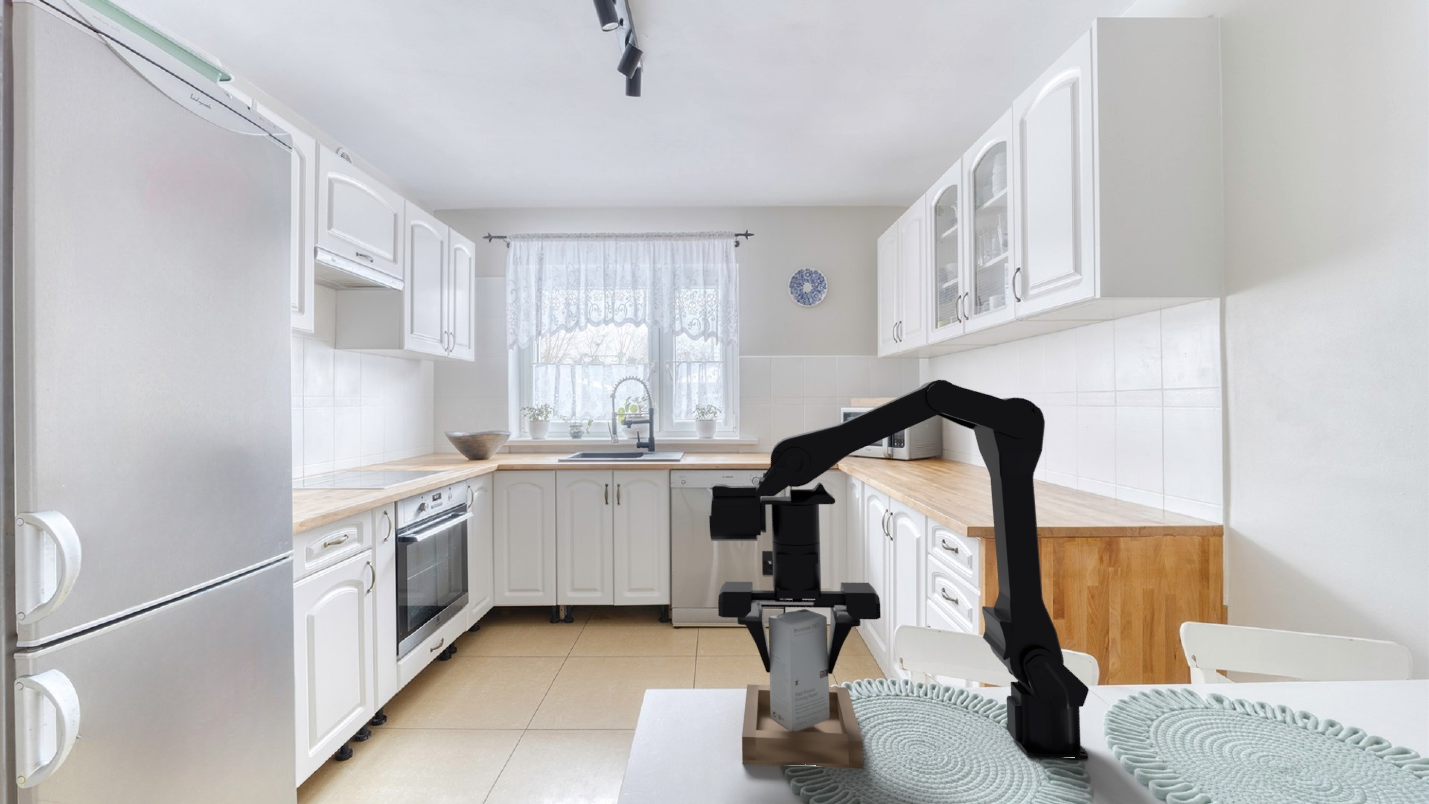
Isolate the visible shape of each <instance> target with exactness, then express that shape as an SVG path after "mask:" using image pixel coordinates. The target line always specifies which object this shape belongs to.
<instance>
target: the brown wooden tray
mask: <svg viewBox="0 0 1429 804" xmlns="http://www.w3.org/2000/svg"><path fill="white" fill-rule="evenodd" d="M745 693H746V694H745V703H744V711H743V712H744V713H743V723H742V724H743V725H742V732H741V733H742V734H741V750H742V752H741V760H742V762H741V763H742V765H757V766H780V767H781V766H783V767H785V766H784V765H805V764H806V765H816V766H822V767H821V768H826V769H827V768H828V769H830V768H831V769H855V770H856V769H857V770H864V754H863V753H864V751H863V750H864V748H863V747H864V746H863V745H864V744H863V743H864V742H863V737H862V734H861V731H860V727H859V724H858V720H857V717H856V712H855V709H854V705H853V702H852V697H851V695H850V691H849V687H847V686H845V687H844V686H842V687H840V686H829V713H830V717H829V718H828V719H827V720H826V721H823V722H820V723H818V724H815V725H812V726H810V727H807V728H804V729H801V730H798V731H795V732H791V731H789V730H787V729H785V728H784V727H782V726H781V725H779V724H778V723H776V722H775V721H774V720H773V719H771V715H770V684H747V685H746V692H745Z"/></svg>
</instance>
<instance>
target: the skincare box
mask: <svg viewBox="0 0 1429 804" xmlns="http://www.w3.org/2000/svg"><path fill="white" fill-rule="evenodd" d="M828 645H829V644H828V618H827V616H826V615H825V614H821V613H819V612H815V611H812V610H809V609H807V608H806V609H805V608H801V609H798V610H794V611H786V612H783V613H782V612H781V613H780V614H776V615H771V616H769V617H768V648H769V660H770V673H769V685H770V715H771V719H773V720H774V721H775V722H776V723H778V724H779V725H781V726H782V727H784V728H785V729H787V730H789V731H791V732H795V731H798V730H801V729H804V728H807V727H810V726H812V725H815V724H818V723H820V722H823V721H826V720H827V719H828V718H829V717H830V713H829V687H830V685H829V683H830V682H829V673H828Z"/></svg>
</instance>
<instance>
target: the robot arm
mask: <svg viewBox="0 0 1429 804" xmlns="http://www.w3.org/2000/svg"><path fill="white" fill-rule="evenodd" d="M936 416H938V417H941V418H943V419H946V420H947V421H950V422H952V423H954V424H957V425H959V426H961V427H964V428H967V429H970V430H973V432H974V436H975V440H976V443H977V447H978V451H979V453H980V455H981V457H982V460H983V463H984V464H985V467H986V468H987V471H988V473H989V478H990V480H989V481H990V490H991V503H992V505H991V506H992V516H993V517H992V518H993V519H992V520H993V530H994V543H995V556H996V559H995V560H996V571H997V583H998V584H997V585H998V595H997V598H996V600H995V603H994V606H993V607H991V606H985V605H983V606H982V607H981V609H982V611H981V612H982V616H983V619H984V624H985V625H984V632H983V635H982V638H983V640H984V641H985V642H986V643H987V644H988V645H989V647H990V650H991V651H992V653H993V654H994V655H995V657H996V658H997V659H998V660H999V661H1000V662H1001V663H1002V664H1003V666H1005V667H1006V669H1007V671H1008V673H1009V674H1010V675H1012V676H1013V678H1015V679H1016V681H1011V682H1010V695H1007V696H1006V722H1007V723H1006V727H1005V728H1006V730H1007V732H1008V733H1009V735H1010V736H1011V737H1012V738H1013V739H1014V741H1015V742H1016V743H1017V744H1018V746H1019V748H1021V750H1022V751H1023V752H1024V753H1025V755H1026V756H1027V757H1030V758H1046V759H1048V758H1049V759H1062V758H1061V757H1075V758H1076V759H1077V760H1088V759H1089V752H1087V751H1086V749H1085V748H1084V747H1083V746H1082V745H1081V744H1082V743H1081V742H1082V741H1081V717H1080V716H1081V715H1080V707H1084V705H1085V703H1086V700H1087V696H1088V694H1089V692H1090V690H1089V687H1088V686H1087V685H1086V684H1085V683H1084V682H1083V681H1082V680H1081V679H1080V678H1078V677H1077V676H1076V675H1075V674H1074V673H1073V672H1072V671H1071V670H1070V669H1069V668H1068V667H1067V666H1066V665H1064V664H1065V662H1064V661H1065V660H1064V655H1063V652H1062V651H1063V650H1062V647H1061V643H1060V640H1059V635H1058V633H1057V628H1056V627H1055V625H1054V623H1053V620H1052V618H1051V615H1050V613H1049V611H1048V609H1047V607H1046V604H1045V602H1044V597H1043V586H1042V573H1041V560H1040V547H1039V536H1038V535H1039V534H1038V522H1037V510H1036V507H1037V506H1036V497H1035V496H1036V495H1035V486H1034V485H1035V484H1034V474H1035V472H1036V469H1037V466H1038V463H1039V460H1040V458H1041V456H1042V452H1043V447H1044V445H1043V444H1044V436H1045V426H1046V425H1045V424H1046V421H1045V420H1046V419H1045V417H1044V413H1043V411H1042V409H1041V408H1040V407H1038V406H1037V405H1036V404H1035V403H1034V402H1032V401H1030V400H1028V399H1027V398H1024V397H1007V398H1006V397H1005V398H1000V397H997V396H994V395H991V394H988V393H985V392H981V391H977V390H973V389H969V388H966V387H962V386H959V385H956V384H954V383H952V382H950V381H948V380H946V379H936V380H932V381H927V382H925V383H924V384H921V386H919V387H918V388H916V389H914V390H912V391H910V392H908V393H905V394H903V395H901V396H899V397H897V398H894V399H892V400H890V401H887V402H886V403H883V404H881V405H878V406H877V407H874V408H872V409H869V410H867V411H865V412H863V413H861V414H858V415H856V416H854V417H852V418H849V419H847V420H845V421H842V422H840V423H838V424H836V425H832V426H828V427H824V428H819V429H815V430H812V431H811V430H810V431H807V432H803V433H800V434H795V435H791V436H787V437H785V438H782V439H781V440H780V441H778V442H777V443H776V444H775V445H774V447H773V448H772V451H771V454H770V465H769V467H768V469H767V470H766V471H765V473H764V475H763V476H760V477H759V479H758V482H757V484H756V485H728V484H723V483H722V484H714V485H713V487H712V488H711V490H712V491H711V493H712V497H711V504H710V505H711V506H710V513H709V516H708V517H709V523H708V524H709V535H710V540H711V541H712V542H757V541H758V536H762V533H764V534H765V533H767V505H768V506H769V505H771V543H772V545H771V546H772V550H762V551H761V555H762V556H761V566H762V567H761V570H762V571H761V572H762V573H761V574H762V577H764V578H767V577H768V578H769V577H771V578H772V589H773V590H755V589H753V588H754V584H753V583H754V582H753V581H725V582H724V583H723V584H722V585H721V587H720V590H719V594H718V601H717V603H718V605H717V606H718V609H717V610H718V611H717V613H718V615H717V616H718V617H721V618H725V619H726V618H734V619H735V618H737V619H736V623H737V624H738V625H739V626H740V625H742V626H745V627H746V628H747V630H748V632H749V633H750V636H751V638H752V640H753V641H754V643H755V646H756V648H757V651H758V653H759V655H760V659H761V661H762V664H763V666H764V670H765V672H766V673H769V674H770V660H769V641H768V635H767V629H766V622H765V613H764V608H815V609H817V608H818V609H819V608H825V609H826V608H827V609H828V608H829V609H830V621H829V622H830V624H829V636H828V644H827V645H828V675H833V672H834V669H835V667H836V664H837V661H838V658H839V656H840V653H841V650H842V647H843V645H844V643H845V641H846V639H847V637H848V636H849V634H850V632H851V630H852V628H853V627H860V626H861V622H862V621H861V620H879V619H881V618H882V617H881V599H880V597H879V595H878V593H877V591H876V590H875V588H874V587H873V586H872V584H871V583H869V582H840V588H839V589H840V590H822V572H821V571H822V570H821V569H822V568H821V537H820V536H821V535H820V533H821V532H820V530H821V529H820V505H834V504H835V503H836V499H835V497H834V495H832V494H831V493H830V492H828V490H826V488H825V487H824V485H823V483H822V482H817V484H816V485H815V486H814V487H813V488H811V489H810V488H803V489H802V488H799V489H798V487H802V486H805V485H808V484H809V483H811V482H812V481H814V480H815V479H817V478H818V477H820V476H822V475H823V474H824V473H826V472H827V471H828V470H830V469H831V468H833V467H834V466H835V465H837V464H838V463H839V462H841V461H842V460H843V459H844V458H846V457H848V456H849V455H851V454H852V453H854V452H857V451H859V450H861V449H863V448H865V447H868V446H871V445H872V444H876V443H877V442H879V441H881V440H884V439H886V438H888V437H891V436H894V435H895V434H898V433H901V432H902V431H904V430H907V429H908V428H911V427H914V426H916V425H917V424H920V423H923V422H925V421H927V420H929V419H932V418H934V417H936ZM788 487H793V489H791V488H790V489H789V496H776V495H779V493H780V492H782V491H784V490H785V489H787V488H788ZM796 487H797V489H794V488H796ZM1076 759H1075V760H1076Z"/></svg>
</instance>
